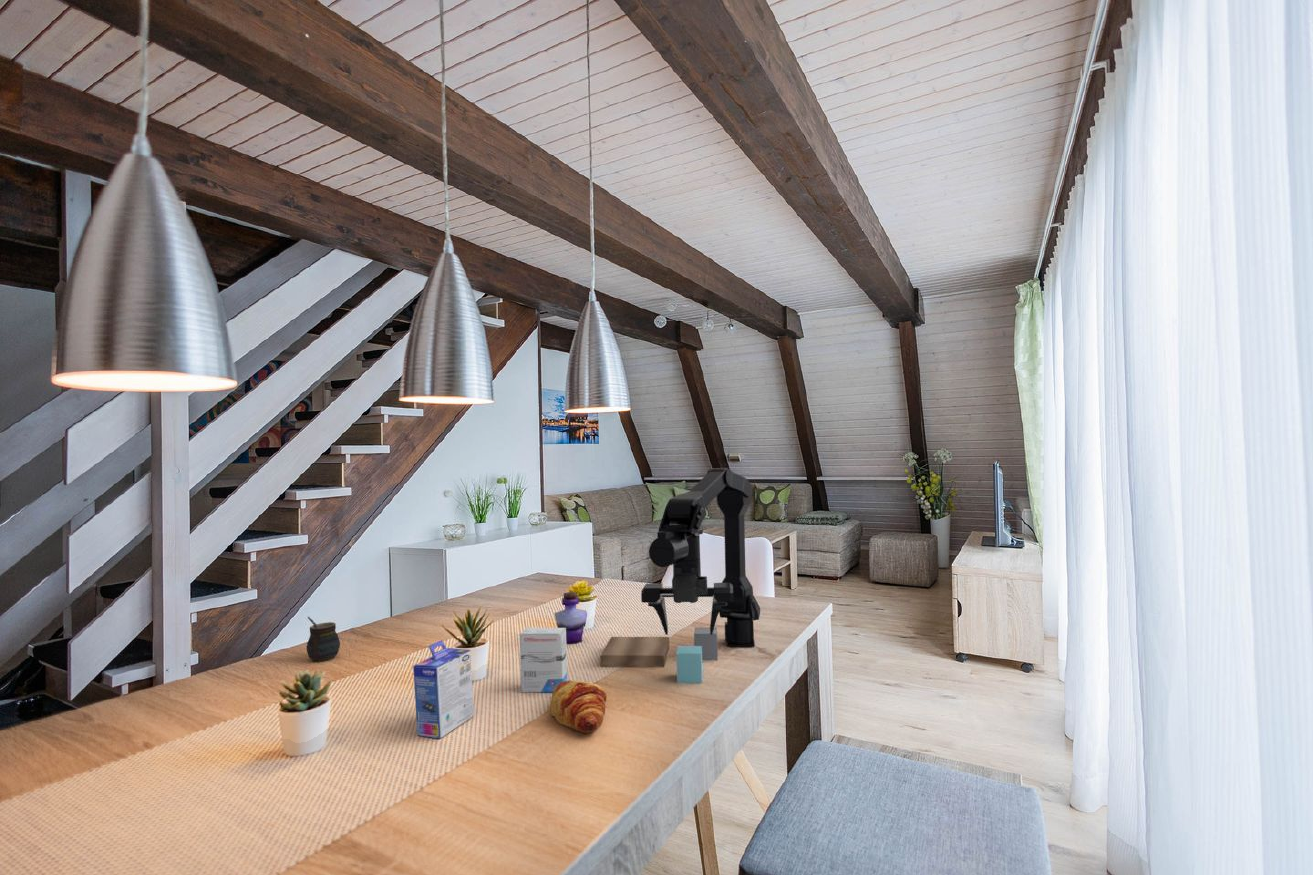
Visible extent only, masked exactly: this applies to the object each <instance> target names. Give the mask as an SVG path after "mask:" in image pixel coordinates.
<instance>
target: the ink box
mask: <svg viewBox="0 0 1313 875" xmlns="http://www.w3.org/2000/svg"><path fill="white" fill-rule="evenodd" d="M518 635H519V653H520V654H519V655H520V657H519V658H520V659H519V660H520V686H521V687H520V688H521V691H520V692H521V693H553V691H554V689H555V688H556V687H557V685H558V684H559V683H561V682H565V681H568V659H567V658H568V657H567V656H568V655H567V654H568V653H567V644H566V628H558V627H526V628H525V629H524V630H523V631H521V633H519V634H518Z"/></svg>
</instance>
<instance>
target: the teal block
mask: <svg viewBox="0 0 1313 875" xmlns="http://www.w3.org/2000/svg"><path fill="white" fill-rule="evenodd" d="M675 654H676V656H675V657H676V684H703V674H704V671H703V660H702V646H694V645H678V646H677V649H676V653H675Z"/></svg>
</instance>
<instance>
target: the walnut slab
mask: <svg viewBox="0 0 1313 875" xmlns="http://www.w3.org/2000/svg"><path fill="white" fill-rule="evenodd" d="M669 650H670V636H611V637H610V639H609V640H608V641H607V643H606V645H605V647H604V649H603V650H602V652H601V653H600V656H599V657H600V667H601V668H665V666H666V665H665V664H666V661H667V658H668V654H669Z"/></svg>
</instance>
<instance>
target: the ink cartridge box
mask: <svg viewBox="0 0 1313 875" xmlns="http://www.w3.org/2000/svg"><path fill="white" fill-rule="evenodd" d="M437 647H442V649H440V650H438V651H435V649H437ZM428 648H429V649H430V650H429V651H430V653H431V656H430V657H428V658H426V659H424V660H422V661H421V662H418V663H417V664H414V665H413V666H412V668H413V681H414V683H413V684H414V685H413V686H414V699H415V700H414V701H415V718H416V734H417V736H420V737H426V738H433V739H441V738H444V737H445V736H447V735H448V734H449V733H450V732H452V731H453V730H455V729H457V728H459V726H461V725H463V724H464V723H465V722H467V721H469V720H470V719H471V718H473V717H474V716H475V712H474V692H473V691H474V690H473V675H472V672H473V671H472V653H471V652H472V650H470V649H463V648H456V647H455V648H453V647H452V648H451V647H450V648H447V647H446V645H445V643H444V641H443V640H439V641H437V642H435V643H432V644H430V645H429V646H428Z"/></svg>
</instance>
